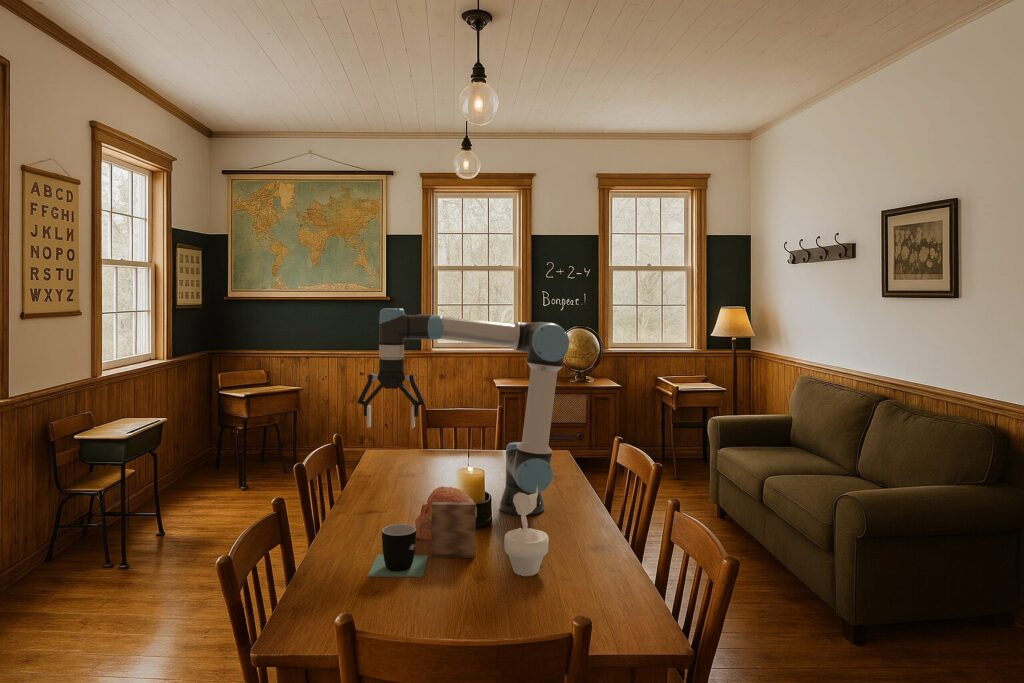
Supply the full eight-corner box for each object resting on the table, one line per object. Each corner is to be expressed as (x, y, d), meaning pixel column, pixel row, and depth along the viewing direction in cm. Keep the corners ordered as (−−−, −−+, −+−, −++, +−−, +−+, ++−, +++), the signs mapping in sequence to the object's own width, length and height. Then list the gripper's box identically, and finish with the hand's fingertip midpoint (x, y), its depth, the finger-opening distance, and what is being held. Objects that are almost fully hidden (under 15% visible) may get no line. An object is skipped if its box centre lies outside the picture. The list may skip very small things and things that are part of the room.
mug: (412, 574, 172) (413, 535, 171) (378, 573, 172) (378, 534, 172) (420, 556, 184) (420, 520, 183) (388, 555, 184) (388, 519, 184)
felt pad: (428, 556, 185) (428, 554, 185) (422, 577, 171) (422, 575, 171) (377, 555, 185) (377, 554, 185) (368, 576, 171) (368, 575, 171)
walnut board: (475, 551, 190) (476, 499, 189) (474, 558, 185) (475, 504, 184) (433, 550, 189) (433, 498, 188) (431, 557, 184) (432, 504, 183)
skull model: (429, 524, 212) (430, 477, 211) (484, 533, 205) (485, 484, 204) (405, 540, 197) (405, 489, 197) (462, 549, 191) (463, 497, 190)
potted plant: (534, 585, 168) (536, 487, 166) (495, 574, 174) (496, 480, 172) (557, 568, 178) (559, 476, 177) (520, 558, 184) (522, 469, 183)
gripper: (433, 358, 209) (432, 425, 210) (353, 356, 208) (352, 424, 209) (431, 360, 201) (430, 429, 203) (348, 358, 201) (347, 428, 202)
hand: (391, 427), depth 206 cm, fingers open, 13 cm apart
